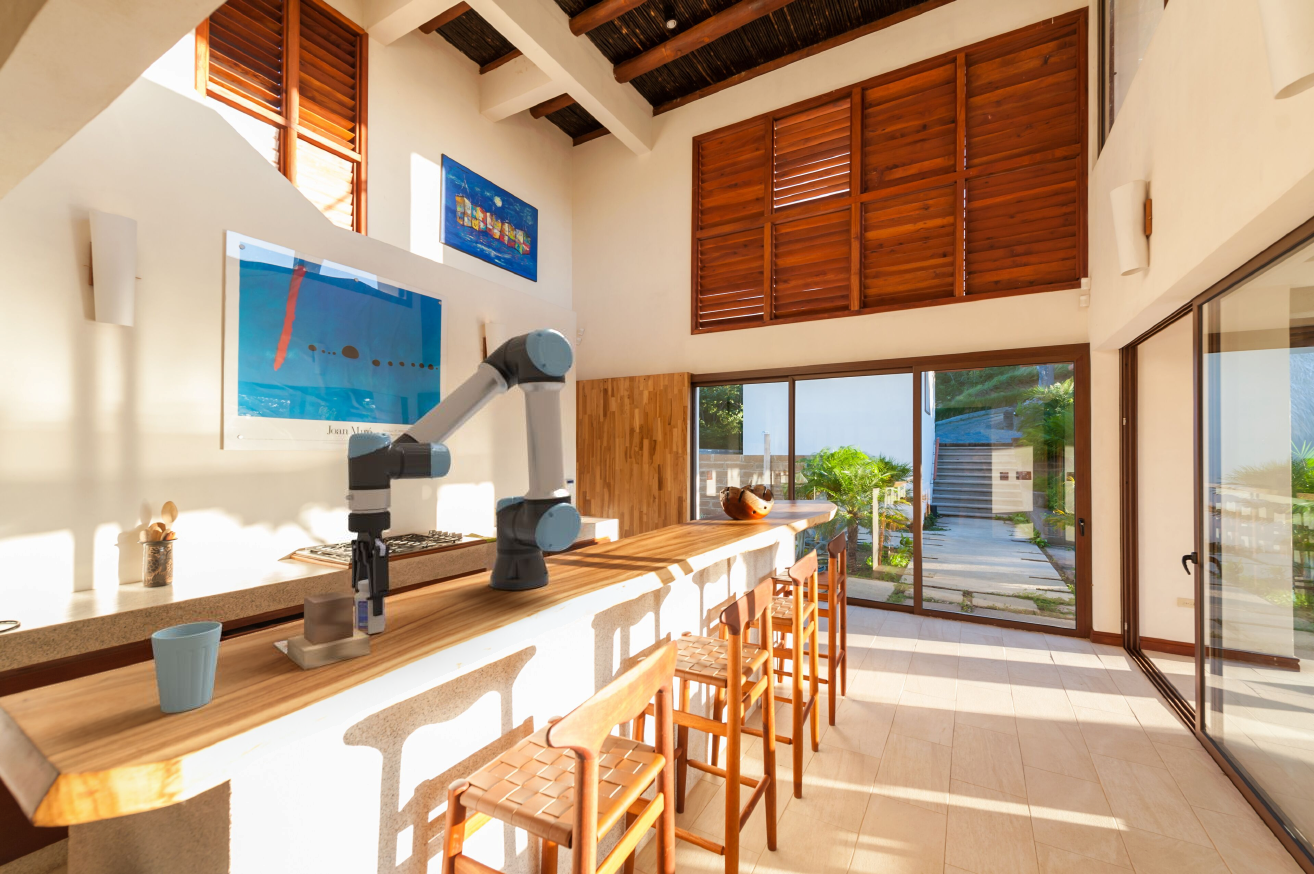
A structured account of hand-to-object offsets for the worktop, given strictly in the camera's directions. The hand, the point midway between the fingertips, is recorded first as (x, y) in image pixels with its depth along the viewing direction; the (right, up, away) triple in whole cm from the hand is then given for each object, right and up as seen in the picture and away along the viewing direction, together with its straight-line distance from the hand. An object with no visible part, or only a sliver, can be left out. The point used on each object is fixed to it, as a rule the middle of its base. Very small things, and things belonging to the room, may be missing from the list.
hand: (369, 628), depth 113 cm
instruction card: (-8, 0, -7) cm, 10 cm away
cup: (-9, 0, -33) cm, 34 cm away
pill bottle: (0, -1, 0) cm, 1 cm away
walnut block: (0, +3, -13) cm, 14 cm away
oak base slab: (0, 0, -13) cm, 13 cm away
